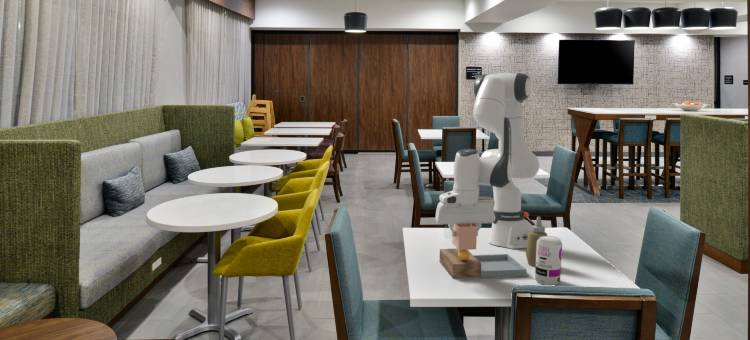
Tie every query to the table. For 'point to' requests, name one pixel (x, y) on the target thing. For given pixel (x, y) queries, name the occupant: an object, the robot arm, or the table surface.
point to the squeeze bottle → (534, 241)
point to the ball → (464, 254)
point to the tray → (500, 266)
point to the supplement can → (548, 260)
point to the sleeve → (465, 236)
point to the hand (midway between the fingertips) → (464, 235)
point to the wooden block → (459, 264)
